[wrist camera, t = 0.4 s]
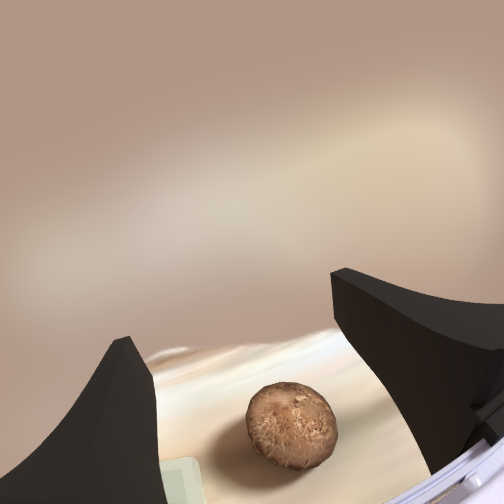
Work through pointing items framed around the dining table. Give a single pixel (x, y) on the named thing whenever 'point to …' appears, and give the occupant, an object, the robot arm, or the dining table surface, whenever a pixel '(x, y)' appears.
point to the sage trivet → (182, 481)
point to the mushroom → (291, 425)
